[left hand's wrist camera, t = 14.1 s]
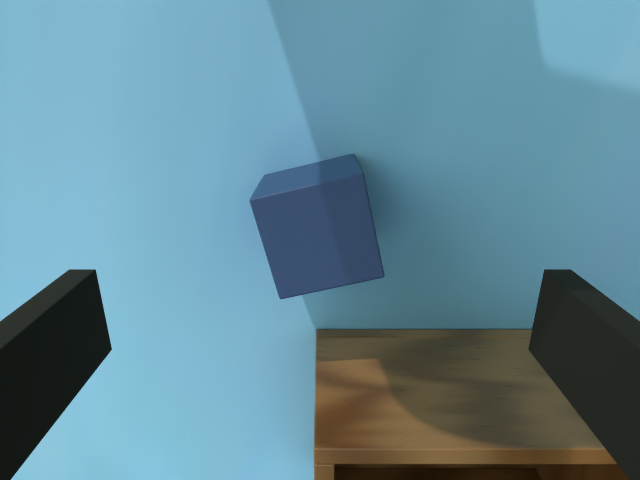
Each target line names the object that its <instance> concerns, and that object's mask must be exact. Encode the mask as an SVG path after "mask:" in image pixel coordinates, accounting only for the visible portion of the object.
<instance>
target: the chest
mask: <svg viewBox="0 0 640 480" xmlns="http://www.w3.org/2000/svg"><path fill="white" fill-rule="evenodd" d="M531 333H532V330H467V329H317V330H316V368H315V422H314V480H629V478H628V477H627V476H626V475H625V473H624V472H623V471H622V469H621V468H620V467H619V466H618V464H617V463H616V462H615V460H614V459H613V458H612V457H611V455H610V454H609V453H608V451H607V450H606V449H605V448H604V446H603V445H602V444H601V442H600V441H599V440H598V439H597V437H596V436H595V435H594V433H593V432H592V431H591V430H590V428H589V427H588V426H587V424H586V423H585V422H584V421H583V419H582V418H581V417H580V415H579V414H578V413H577V412H576V410H575V409H574V408H573V406H572V405H571V404H570V403H569V401H568V400H567V399H566V397H565V396H564V395H563V394H562V392H561V391H560V390H559V388H558V387H557V386H556V385H555V383H554V382H553V381H552V379H551V378H550V377H549V375H548V374H547V373H546V372H545V370H544V369H543V368H542V366H541V365H540V364H539V363H538V361H537V360H536V359H535V357H534V356H533V355H532V354H531V352H530V351H529V350H528V348H529V343H530V338H531Z"/></svg>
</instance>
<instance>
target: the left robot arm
mask: <svg viewBox="0 0 640 480" xmlns="http://www.w3.org/2000/svg"><path fill="white" fill-rule="evenodd" d="M111 350H112V348H111V343H110V338H109V333H108V328H107V323H106V318H105V313H104V309H103V304H102V299H101V294H100V289H99V284H98V279H97V274H96V270H68V271H67V272H66V273H64V274H63V275H62V276H60V277H59V278H58V279H56V280H55V281H54V282H52V283H51V284H50V285H48V286H47V287H46V288H44V289H43V290H42V291H40V292H39V293H38V294H36V295H35V296H34V297H32V298H31V299H30V300H28V301H27V302H26V303H24V304H23V305H22V306H20V307H19V308H18V309H16V310H15V311H14V312H12V313H11V314H10V315H8V316H7V317H6V318H4V319H3V320H2V321H0V480H11V478H12V477H13V476H14V475H15V473H16V472H17V471H18V469H19V468H20V467H21V466H22V464H23V463H24V462H25V460H26V459H27V458H28V457H29V455H30V454H31V453H32V451H33V450H34V449H35V448H36V446H37V445H38V444H39V442H40V441H41V440H42V439H43V437H44V436H45V435H46V433H47V432H48V431H49V430H50V428H51V427H52V426H53V424H54V423H55V422H56V421H57V419H58V418H59V417H60V415H61V414H62V413H63V412H64V410H65V409H66V408H67V406H68V405H69V404H70V403H71V401H72V400H73V399H74V397H75V396H76V395H77V394H78V392H79V391H80V390H81V388H82V387H83V386H84V385H85V383H86V382H87V381H88V379H89V378H90V377H91V375H92V374H93V373H94V372H95V370H96V369H97V368H98V366H99V365H100V364H101V363H102V361H103V360H104V359H105V357H106V356H107V355H108V354H109V352H110V351H111ZM528 350H529V351H530V352H531V354H532V355H533V356H534V357H535V359H536V360H537V361H538V363H539V364H540V365H541V366H542V368H543V369H544V370H545V372H546V373H547V374H548V375H549V377H550V378H551V379H552V381H553V382H554V383H555V385H556V386H557V387H558V388H559V390H560V391H561V392H562V394H563V395H564V396H565V397H566V399H567V400H568V401H569V403H570V404H571V405H572V406H573V408H574V409H575V410H576V412H577V413H578V414H579V415H580V417H581V418H582V419H583V421H584V422H585V423H586V424H587V426H588V427H589V428H590V430H591V431H592V432H593V433H594V435H595V436H596V437H597V439H598V440H599V441H600V442H601V444H602V445H603V446H604V448H605V449H606V450H607V451H608V453H609V454H610V455H611V457H612V458H613V459H614V460H615V462H616V463H617V464H618V466H619V467H620V468H621V469H622V471H623V472H624V473H625V475H626V476H627V477H628V478H629V480H640V321H638V320H637V319H636V318H634V317H633V316H632V315H630V314H629V313H628V312H626V311H625V310H624V309H622V308H621V307H620V306H618V305H617V304H616V303H614V302H613V301H612V300H610V299H609V298H608V297H606V296H605V295H604V294H602V293H601V292H600V291H598V290H597V289H596V288H594V287H593V286H592V285H590V284H589V283H588V282H586V281H585V280H584V279H582V278H581V277H580V276H578V275H577V274H576V273H574V272H573V271H572V270H544V274H543V279H542V284H541V289H540V294H539V299H538V304H537V309H536V313H535V318H534V323H533V328H532V333H531V338H530V343H529V348H528Z"/></svg>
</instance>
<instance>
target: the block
mask: <svg viewBox="0 0 640 480" xmlns="http://www.w3.org/2000/svg"><path fill="white" fill-rule="evenodd" d="M250 204H251V207H252V210H253V213H254V217H255V220H256V223H257V227H258V230H259V233H260V236H261V240H262V243H263V246H264V249H265V253H266V256H267V259H268V262H269V266H270V269H271V272H272V275H273V279H274V282H275V285H276V288H277V292H278V295H279V298H280V299H284V298H289V297H294V296H298V295H303V294H308V293H312V292H317V291H322V290H326V289H331V288H336V287H340V286H345V285H350V284H354V283H359V282H364V281H368V280H373V279H378V278H382V277H384V271H383V266H382V262H381V257H380V252H379V247H378V242H377V237H376V232H375V227H374V222H373V218H372V213H371V208H370V203H369V198H368V193H367V188H366V183H365V179H364V174H363V172H362V170H361V167H360V165H359V163H358V161H357V159H356V157H355V155H354V154H351V155H347V156H342V157H338V158H334V159H330V160H326V161H322V162H317V163H313V164H309V165H305V166H301V167H296V168H292V169H288V170H284V171H280V172H276V173H271V174H267V175H264V176H263V178H262V180H261V181H260V183H259V185H258V186H257V188H256V190H255V191H254V193H253V195H252V196H251V198H250Z"/></svg>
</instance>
